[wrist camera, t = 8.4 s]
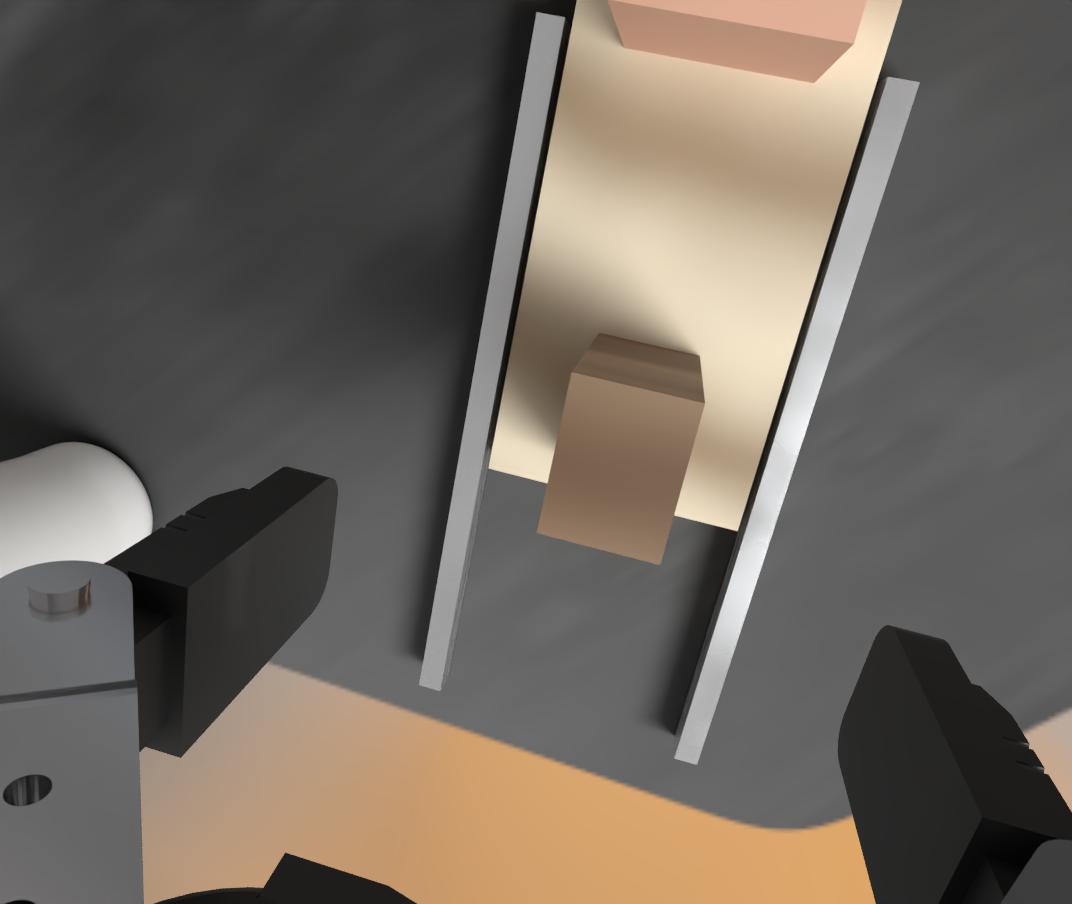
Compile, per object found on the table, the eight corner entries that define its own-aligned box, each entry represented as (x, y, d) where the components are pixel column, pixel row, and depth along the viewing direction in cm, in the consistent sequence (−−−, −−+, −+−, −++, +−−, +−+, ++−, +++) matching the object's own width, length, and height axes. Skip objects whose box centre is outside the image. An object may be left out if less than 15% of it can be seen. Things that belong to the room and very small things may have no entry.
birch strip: (658, -374, 19) (643, -718, 12) (993, -332, 18) (1189, -677, 11) (498, 454, 26) (430, 543, 19) (734, 513, 25) (754, 629, 18)
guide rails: (544, 22, 22) (536, 11, 21) (906, 89, 21) (919, 82, 20) (429, 667, 29) (419, 685, 28) (696, 742, 28) (697, 764, 27)
